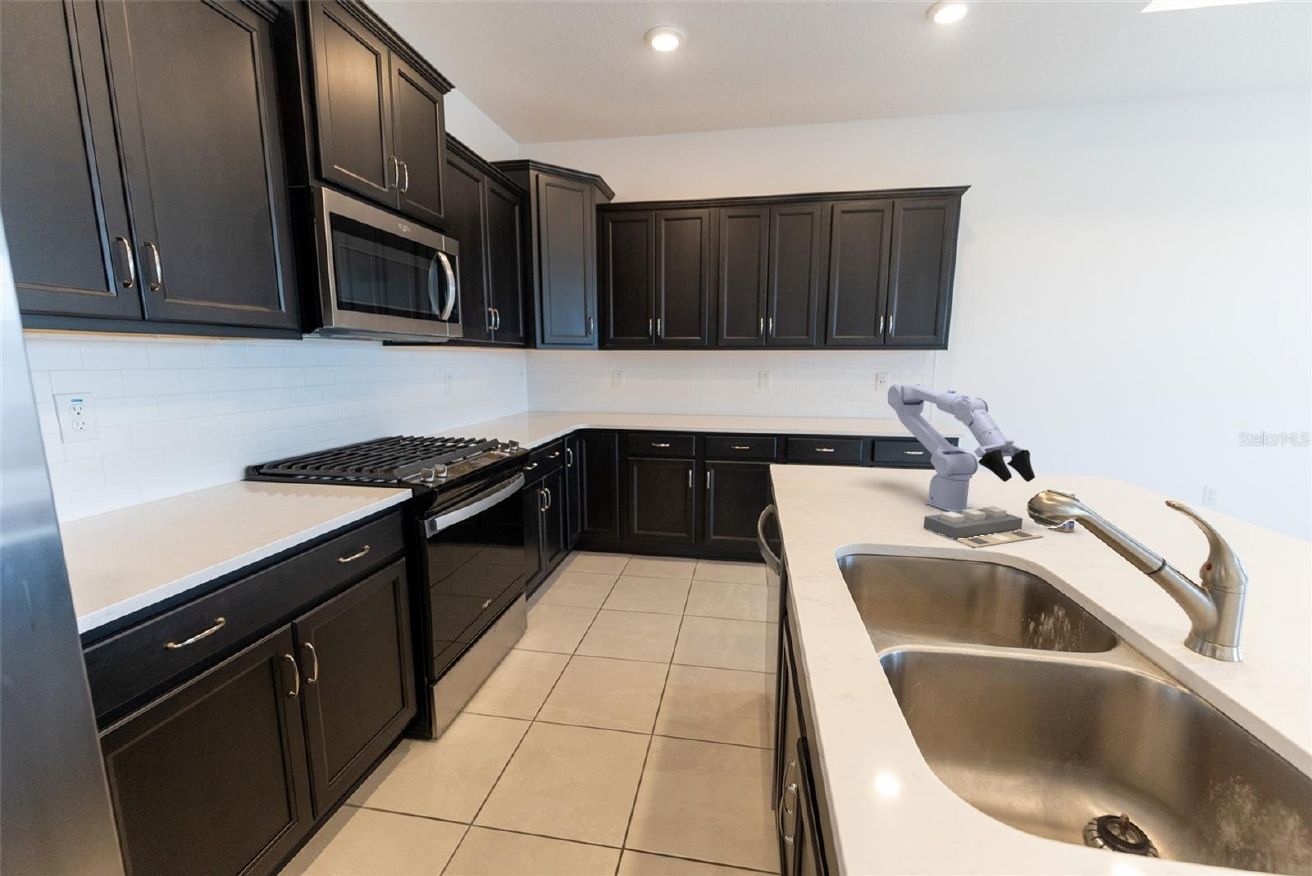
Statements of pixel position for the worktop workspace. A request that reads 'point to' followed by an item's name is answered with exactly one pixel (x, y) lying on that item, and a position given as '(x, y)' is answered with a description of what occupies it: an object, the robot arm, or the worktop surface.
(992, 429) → the robot arm
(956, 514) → the button end near
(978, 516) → the button middle
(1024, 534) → the pattern card
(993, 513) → the button end far
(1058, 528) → the pill bottle
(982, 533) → the button board
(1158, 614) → the worktop surface
